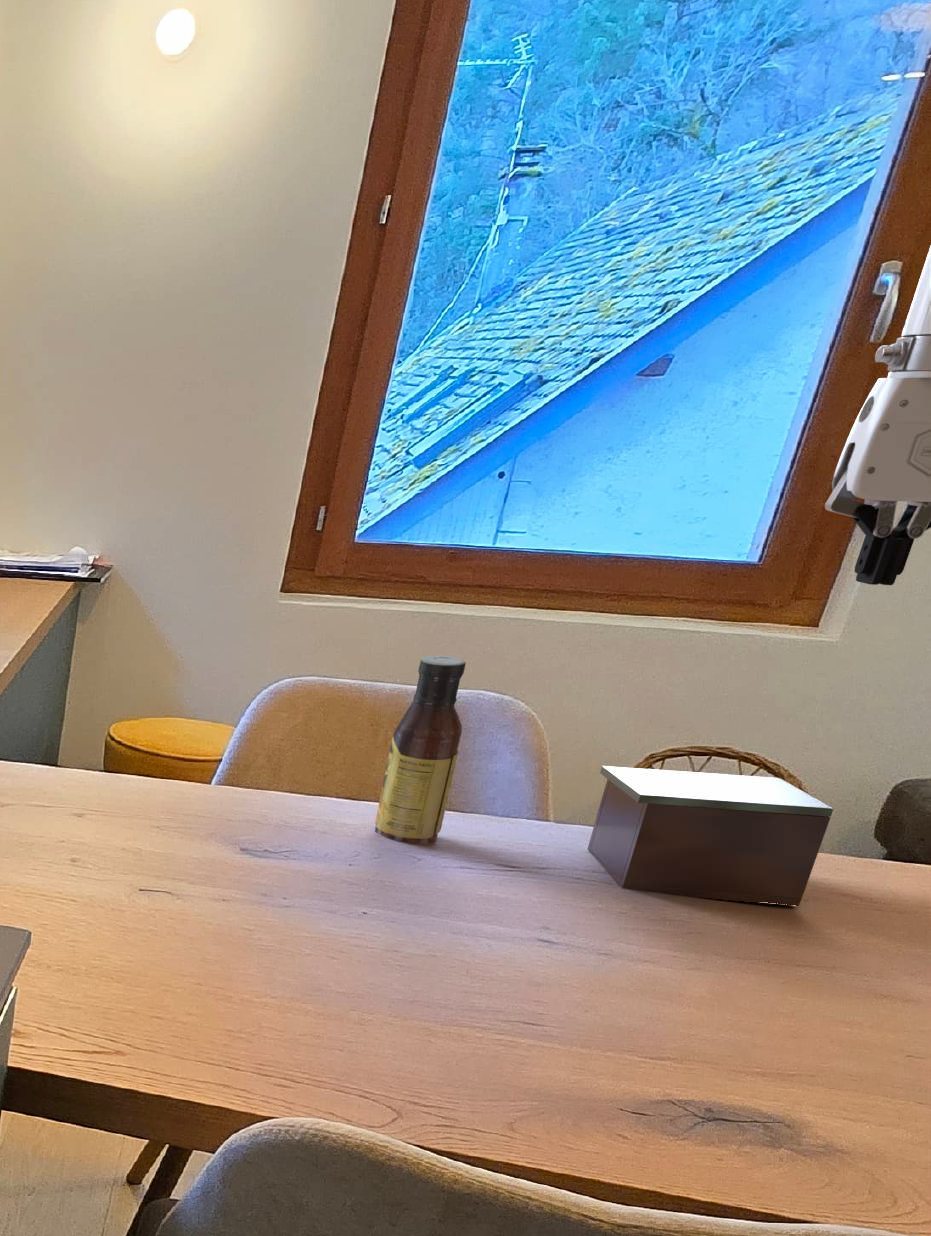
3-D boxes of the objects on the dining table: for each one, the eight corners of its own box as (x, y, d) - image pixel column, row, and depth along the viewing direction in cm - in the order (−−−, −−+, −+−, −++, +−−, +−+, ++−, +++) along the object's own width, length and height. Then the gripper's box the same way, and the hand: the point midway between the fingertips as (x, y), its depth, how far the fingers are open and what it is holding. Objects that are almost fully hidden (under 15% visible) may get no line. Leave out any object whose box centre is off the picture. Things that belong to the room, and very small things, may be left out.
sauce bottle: (397, 829, 149) (439, 649, 140) (449, 847, 144) (496, 660, 135) (356, 839, 146) (396, 656, 138) (407, 857, 141) (453, 668, 133)
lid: (638, 802, 128) (640, 794, 128) (599, 773, 139) (601, 765, 138) (831, 817, 124) (834, 808, 124) (776, 785, 134) (779, 777, 134)
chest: (621, 890, 132) (647, 803, 128) (585, 855, 142) (608, 774, 138) (798, 907, 128) (830, 817, 124) (748, 869, 138) (776, 786, 134)
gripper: (866, 359, 113) (794, 584, 120) (1088, 358, 109) (999, 592, 116) (825, 361, 120) (758, 575, 127) (1032, 361, 116) (952, 582, 123)
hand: (874, 582), depth 122 cm, fingers closed
